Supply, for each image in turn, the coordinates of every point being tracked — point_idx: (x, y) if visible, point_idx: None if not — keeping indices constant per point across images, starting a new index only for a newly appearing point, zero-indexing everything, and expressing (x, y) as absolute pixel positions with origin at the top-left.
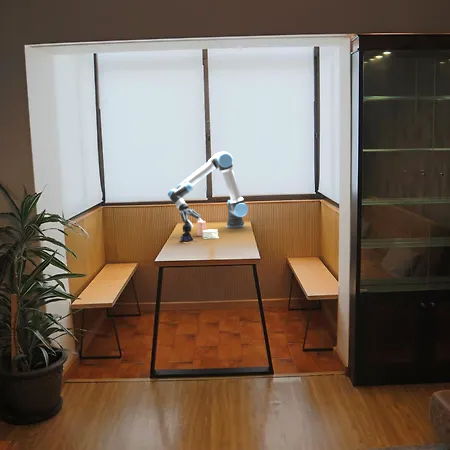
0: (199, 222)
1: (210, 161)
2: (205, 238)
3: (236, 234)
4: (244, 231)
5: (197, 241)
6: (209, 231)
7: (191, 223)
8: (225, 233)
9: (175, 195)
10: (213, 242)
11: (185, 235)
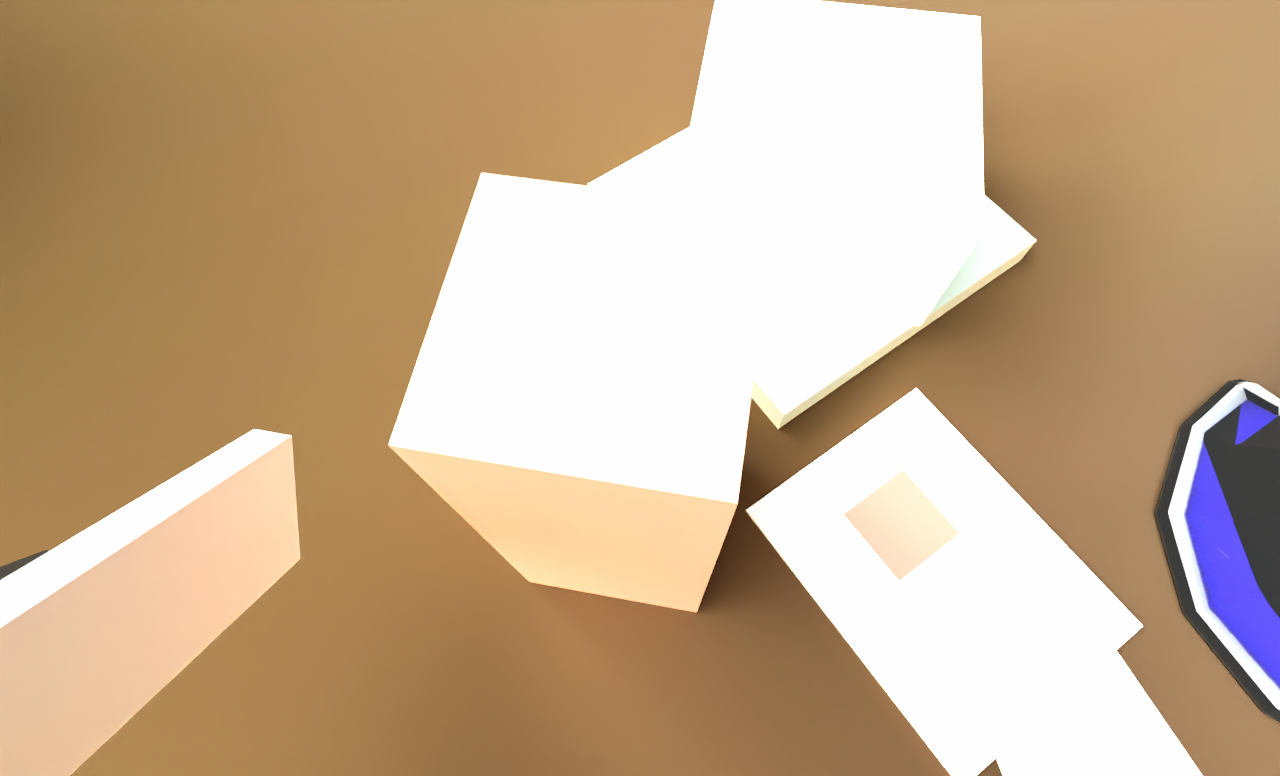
0: (754, 353)
1: None
2: (976, 245)
3: (306, 14)
4: (12, 6)
5: (1166, 355)
6: (956, 70)
7: (1091, 685)
8: (187, 209)
9: None
10: (1092, 57)
11: None
